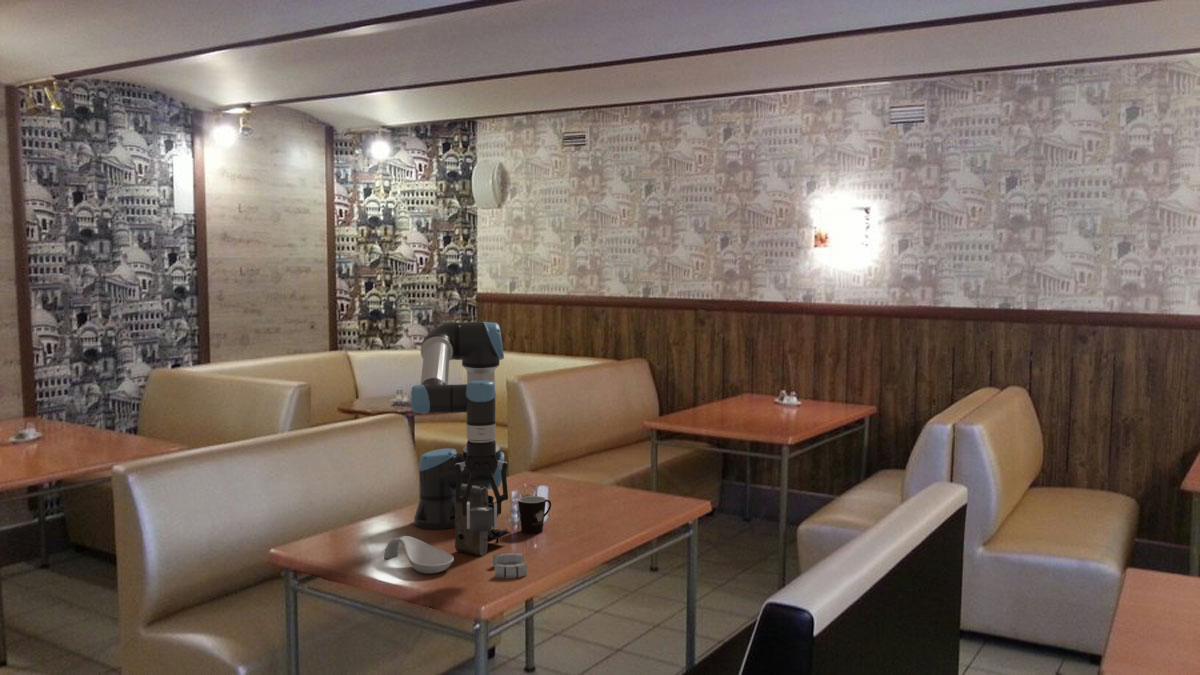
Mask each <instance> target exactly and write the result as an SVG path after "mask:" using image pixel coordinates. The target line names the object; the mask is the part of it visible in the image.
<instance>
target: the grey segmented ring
mask: <svg viewBox="0 0 1200 675" xmlns="http://www.w3.org/2000/svg"><path fill="white" fill-rule="evenodd" d="M527 565H528V564H527V563H525V555H524V553H520V552H518V553H517V552H506V553H505V552H503V553H498V554H494V555H493V554H492V567H493V568H494V578H499V579H516V578H522V577H526V576H528V573H527V572H528V566H527Z"/></svg>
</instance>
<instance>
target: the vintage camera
mask: <svg viewBox="0 0 1200 675" xmlns="http://www.w3.org/2000/svg"><path fill="white" fill-rule="evenodd" d="M466 487H467V484H464V483H461V492H460V496H461V497H463V496H464V493H465V490H466ZM455 493H456V491H455ZM494 498H495V496H493V495H489V489H487V488H486V487H485V486H482V485H481V486H473V485H472V488H471V491H470V494H469V497H468V500H467V502H470V509H471V508H474V507H491V508H494ZM498 517H499V514H497V518H498ZM454 530H455V531H454V549H455V550H456V551H457V552H460V553H465V554H470V555H475V556H480V557H484V556H485V555H486V554H487V552H488V543H489V542H493V541H495V542H496V543H497V544H499V542H500V541H499V539H500V538H502V537H505V536H506V535H508V534H510V533H512V531H509V530H508V528H505V529H500V528H494V529H493V530H491V531H485V532H476V531H471V530H470V529H467V516H463V514H462V503H461V502H456V501H455V527H454Z"/></svg>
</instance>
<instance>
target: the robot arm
mask: <svg viewBox="0 0 1200 675" xmlns="http://www.w3.org/2000/svg"><path fill="white" fill-rule="evenodd" d="M503 347H504V346H503V340H502V332H501V327H500V325H499V324H498V323H497V322H493V321H492V322H490V321H466V322H465V321H462V322H460V321H459V322H455V321H453V322H451V321H450V322H446V323H443V324H440V325H438V326H437V327H435V328H433V329H431V331H430V332H428V334H426V335H425V337H424V339H423V340H422V343H421V346H420V356H421V358H422V368H421V377H420V378H421V379H420V384H418V385H417V384H416V385H413V386H412V387H411V396H410V399H411V402H410V403H411V410H412V412H414V413H417V414H426V415H427V414H438V413H439V414H440V413H443V414H444V413H466V440H467V441H466V445H465V446H463V447H462V452H461V453H457V449H455V448H447V447H446V448H440V449H439V448H438V449H435V450H431V451H428V452H425V453H423V454H421V456H420V458H419V462H418V463H419V467H418V472H419V502H418V505H417V508H416V511H415V514H414V519H413V520H414V526H415V527H417V528H420V529H423V530H424V529H425V530H444V529H445V530H446V529H451V528H455V501H456V502H461V503H462V514H463V516H467V529H470V502H467V500H468V497H469V494H470V491H471V488H472V485H473V486H481V485H482V486H485V487H486V488H487V489H488V490H492V492H493V494H494V498H495V500H493V503H494V529H498V517H497V514H498V515H501V514H502V503H503V501H508V499H509V494H508V491H509V490H508V482H507V469H508V462H507V460H505V452H502V451H501V447H500V446H499V445H498V444H497V442H496V437H497V434H496V433H497V432H496V428H497V427H496V425H497V424H496V396H497V392H496V391H497V390H496V385H495V383H496V381H495V380H496V379H495V378H496V376H495V374H496V373H495V372H496V369H497V368H498V367H499V366H500V361H502V360H504V359H505V355H504V348H503ZM452 360H453V361H454V360H455V361H461V366H462V367H463V368H464V369H465V371H466V383H465V384H449V373H450V371H449V370H450V368H449V367H450V361H452ZM461 483H464V484H467V487H466V490H465V493H464V496H463V497H461V496H460V492H461ZM501 485H502V487H501ZM500 487H501V488H502V494H500V491H499V488H500ZM455 491H456V493H455Z"/></svg>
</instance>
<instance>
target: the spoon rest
mask: <svg viewBox="0 0 1200 675" xmlns="http://www.w3.org/2000/svg"><path fill="white" fill-rule="evenodd" d="M400 543H402V544H403V547H404V552H405V555H406V558H407V560H408V562H409V564H410V566H411V567H412V569H414V570H415V571H417V572H419V573H420V574H424V575H426V574H427V575H433V574H437V573H441V572H443V571H446V570H447V569H448V568H449V567H451V565H452V564H453V562H454V561H455V557H454V556H453V555H452V554H451V553H450V552H448V551H446V550H443V549H441V548H438V547H436V546H433V545H432V544H429V543H427V542H424V541H423V540H420V539H419V538H418V539H417V538H416V537H412V536H409V535H403V536H402V535H401V536H400V537H395V538H392V539H391V540H390V541H388V543H387V544H386V546H385V549H384V552H383V559H384V560H388V559H389V560H390V559H393V558H397V557H398V556H399V545H400Z"/></svg>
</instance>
